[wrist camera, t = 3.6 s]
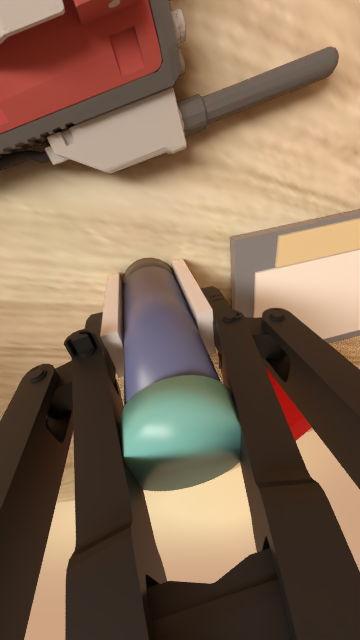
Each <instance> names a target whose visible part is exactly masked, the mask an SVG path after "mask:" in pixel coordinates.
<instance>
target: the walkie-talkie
mask: <svg viewBox="0 0 360 640" xmlns="http://www.w3.org/2000/svg"><path fill="white" fill-rule="evenodd" d="M185 37H186V29H185V22H184V17H183V13H182V11H181V9H176V10H174V11H173V10H172V11H171V9H170V5H169V0H0V171H1V170H3V169H6V168H8V167H11V166H14V165H17V164H20V163H23V162H26V161H36V162H41V163H42V162H50V161H51V162H52V164H53V165H56V164H60V163H62V162H65V161H67V160H70V159H71V160H73V161H76V162H79V163H82V164H84V165H87V166H90V167H92V168H95V169H98V170H101V171H103V172H106V173H109V174H112V173H114V172H117V171H120V170H122V169H125V168H127V167H130V166H133V165H135V164H138V163H140V162H143V161H146V160H148V159H151V158H153V157H156V156H159V155H161V154H164V153H167V154H174V153H177V152H179V151H181V150H184V149H186V148H187V144H186V140H185V137H186V136H189V135H191V134H194V133H196V132H198V131H201V130H203V129H205V127H206V125H207V124H209V123H212V122H214V121H217V120H219V119H222V118H225V117H227V116H230V115H232V114H235V113H237V112H240V111H242V110H245V109H247V108H250V107H253V106H255V105H258V104H260V103H263V102H265V101H268V100H270V99H273V98H275V97H278V96H281V95H283V94H286V93H288V92H291V91H293V90H296V89H298V88H301V87H303V86H306V85H309V84H311V83H314V82H316V81H319V80H321V79H324V78H326V77H328V76H329V75H330V74H332V73H333V71H334V69H335V68H336V66H337V63H338V58H339V55H338V51H337V50H336V48H334V47H327V48H325V49H322V50H320V51H317V52H315V53H312V54H310V55H307V56H305V57H302V58H300V59H297V60H295V61H292V62H290V63H287V64H285V65H282V66H280V67H277V68H275V69H272V70H270V71H267V72H265V73H262V74H260V75H257V76H255V77H252V78H250V79H247V80H245V81H242V82H240V83H237V84H235V85H232V86H230V87H227V88H225V89H222V90H219V91H217V92H214V93H212V94H209V95H207V96H204V97H201V96H200V95H199V94H197V95H195V96H192V97H189V98H187V99H184V100H182V101H179V102H177V101H176V97H175V93H174V88H173V87H172V86H173V85H174V83H175V81H176V80H177V78H178V76H180V75H183V74H184V73H185V64H184V58H183V54H182V51H181V49H180V48H178V43H180V42H183V41H185ZM44 141H49V143H50V145H51V146H49V147H47V148H44V149H45V152H42V153H41V152H36V151H31V150H30V149H33V148H32V146H33V145H38V146H41V145H43V142H44ZM23 149H24V150H26V151H22V150H23ZM28 150H30V151H28Z"/></svg>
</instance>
